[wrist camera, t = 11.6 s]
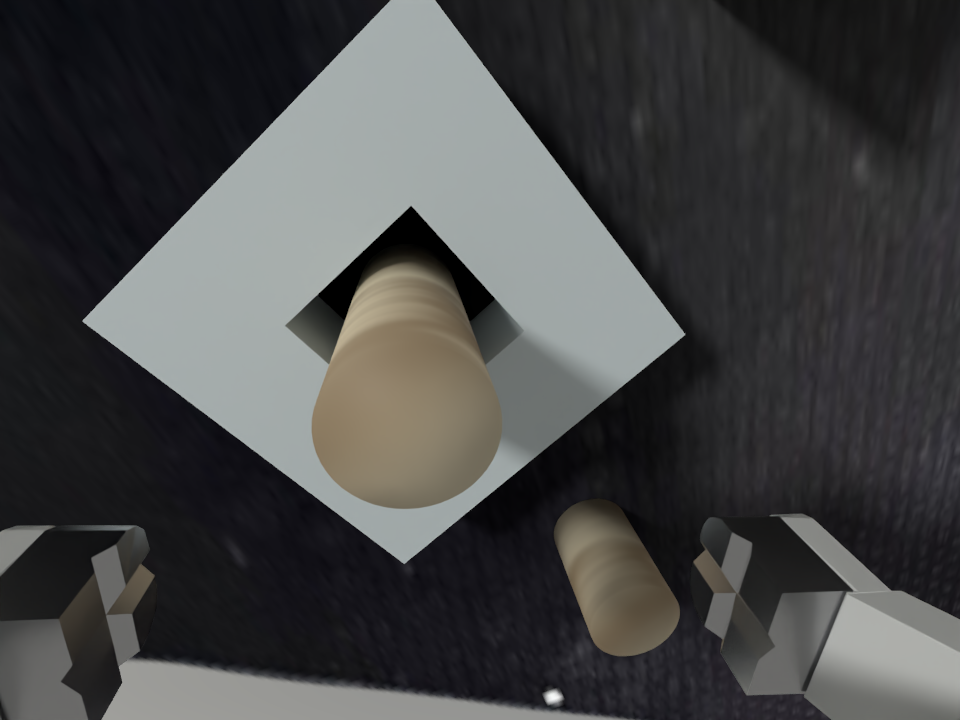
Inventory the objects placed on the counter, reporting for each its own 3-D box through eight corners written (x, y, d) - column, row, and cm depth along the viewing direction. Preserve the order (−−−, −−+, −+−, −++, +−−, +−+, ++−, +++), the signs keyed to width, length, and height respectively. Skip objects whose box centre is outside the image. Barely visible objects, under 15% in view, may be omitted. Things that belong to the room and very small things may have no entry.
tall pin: (473, 294, 23) (539, 430, 12) (406, 354, 23) (406, 538, 12) (408, 223, 21) (412, 300, 10) (338, 289, 22) (269, 430, 11)
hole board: (630, 298, 24) (685, 334, 19) (404, 489, 26) (404, 563, 21) (412, 17, 19) (415, -26, 14) (153, 283, 21) (81, 321, 16)
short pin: (640, 528, 29) (696, 618, 23) (583, 571, 29) (624, 669, 24) (598, 485, 27) (647, 570, 22) (538, 531, 28) (572, 626, 22)
